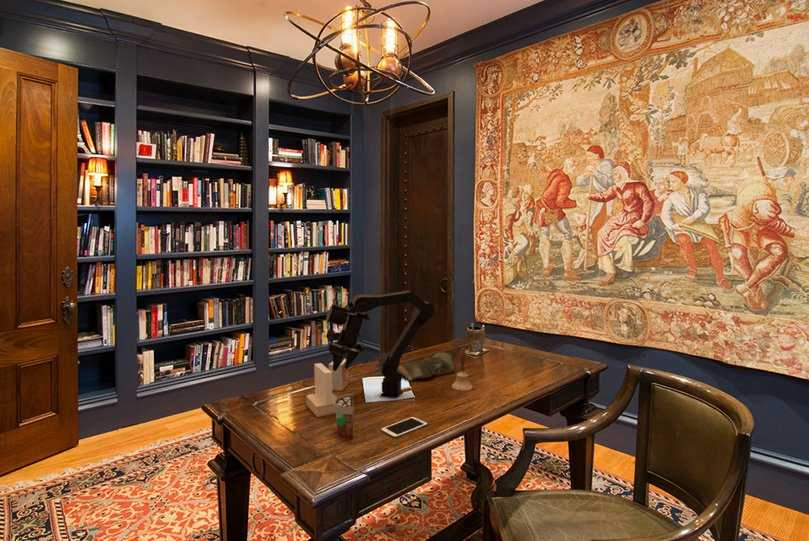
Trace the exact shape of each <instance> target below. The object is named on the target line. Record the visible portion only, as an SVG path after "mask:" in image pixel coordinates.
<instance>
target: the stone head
mask: <svg viewBox="0 0 809 541" xmlns="http://www.w3.org/2000/svg"><path fill="white" fill-rule="evenodd" d="M452 359H453V356H452V354H450V353H447V352H443V351H442V352H438V353H435V354H433V355H432V356H427V357H426V358H424V359H423V360H415V361H407V362H405V363H399V367H398V369H397V371H398V372H399V373H400V374H401V375H402V376H403V377H405V378H406V379H407V380H408V382H414V381H415V380H417V379H428V378H431V377H433V376H437V377H439V376H441V375H449V374H452V373H453V372H454V369H455V366H454V362H453V360H452Z"/></svg>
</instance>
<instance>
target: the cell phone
mask: <svg viewBox="0 0 809 541" xmlns="http://www.w3.org/2000/svg"><path fill="white" fill-rule="evenodd" d="M427 425H428V426H429V423H428V421H425V420H423V419H421V418H419V417H417V416H409V417H407V418H404V419H402V420H398V421H397V422H394V423H391V424H388V425H386V426H383V427H381V428H380V429H379V430H380V431H379V432H380V433H383V434H384V435H387V437H390V438H391V439H394V438H396V439H399V438H401V437H404V436H406V435H409V434H411V433H413V431H414V432H416V431H417V429H419V430H420V428H421V429H423V428H422V427H424V428H426V427H428V426H427ZM425 426H426V427H425ZM415 430H416V431H415ZM410 432H411V433H410ZM408 433H409V434H408ZM405 434H406V435H405ZM403 435H404V436H403ZM400 436H401V437H400ZM398 437H399V438H398Z"/></svg>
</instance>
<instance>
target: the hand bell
mask: <svg viewBox="0 0 809 541" xmlns="http://www.w3.org/2000/svg"><path fill="white" fill-rule="evenodd" d="M466 359H467V352H466V349H465V347H461V348H460V351H459V363H460V369H459V370H460V372H457V373H456V379H455V381H454V382H453V383H452V384H451V389H453V390H456V391H459V392H460V391H461V392H468V391H471V390H473V388H474V386H473V385H472V384H471V382H470V378H469V374H468V373H467V372H466V368H465V367H466V366H465V365H466V361H467V360H466Z"/></svg>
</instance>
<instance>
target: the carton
mask: <svg viewBox="0 0 809 541" xmlns="http://www.w3.org/2000/svg"><path fill="white" fill-rule="evenodd" d="M305 401H306V402H305V403H306V407H307V408H308V409H309V410H310V411H311V412H312V413H313V415H314V416H315V417H316V418H322V417H325V416H330V415H334V414H335V415H336V411H335V410H334V409H333V406H334V405H331V406H326V407H321V408H316V407H315V406H314V405H313V404H312V403H311V401H310V400H309V399H308V398H307V397H306V396H305Z"/></svg>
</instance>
